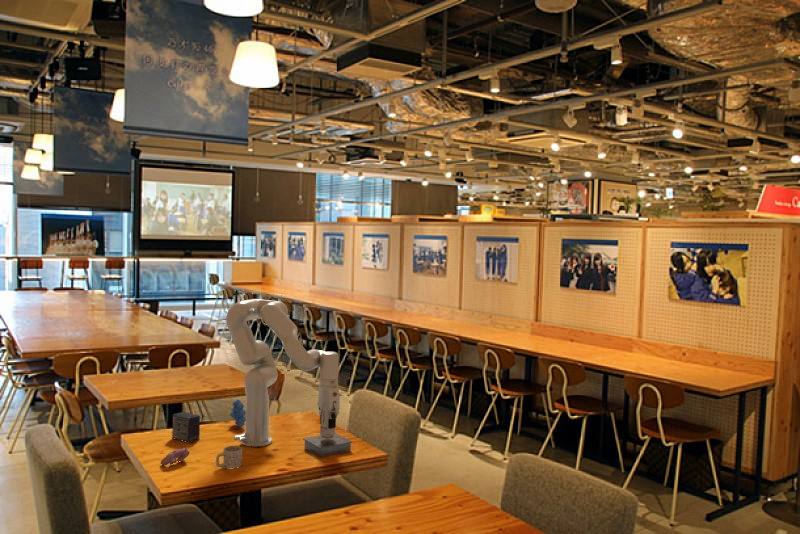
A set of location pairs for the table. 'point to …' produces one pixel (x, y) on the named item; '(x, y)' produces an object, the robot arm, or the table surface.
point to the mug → (230, 457)
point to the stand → (327, 445)
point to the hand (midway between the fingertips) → (327, 425)
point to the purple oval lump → (175, 456)
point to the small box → (186, 426)
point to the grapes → (238, 413)
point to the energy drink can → (325, 424)
